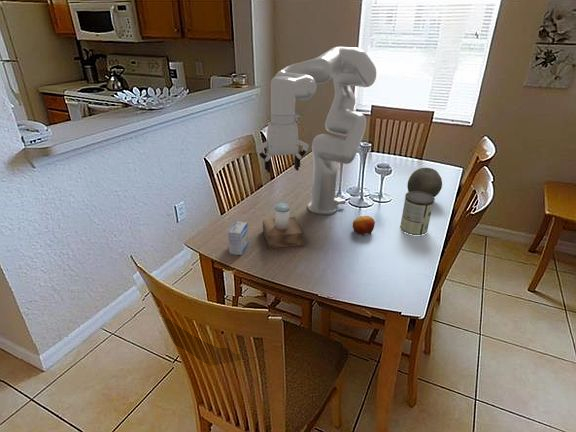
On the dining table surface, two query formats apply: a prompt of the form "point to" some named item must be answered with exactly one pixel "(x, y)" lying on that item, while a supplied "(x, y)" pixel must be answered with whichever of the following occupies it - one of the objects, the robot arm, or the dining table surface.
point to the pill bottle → (282, 216)
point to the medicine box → (238, 238)
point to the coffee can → (416, 212)
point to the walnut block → (282, 234)
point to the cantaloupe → (425, 181)
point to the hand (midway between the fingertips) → (282, 170)
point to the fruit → (363, 225)
